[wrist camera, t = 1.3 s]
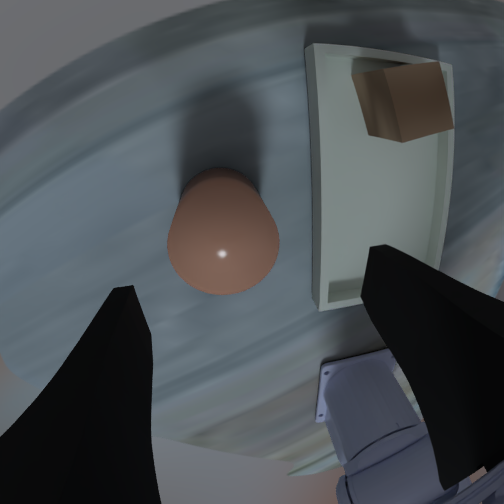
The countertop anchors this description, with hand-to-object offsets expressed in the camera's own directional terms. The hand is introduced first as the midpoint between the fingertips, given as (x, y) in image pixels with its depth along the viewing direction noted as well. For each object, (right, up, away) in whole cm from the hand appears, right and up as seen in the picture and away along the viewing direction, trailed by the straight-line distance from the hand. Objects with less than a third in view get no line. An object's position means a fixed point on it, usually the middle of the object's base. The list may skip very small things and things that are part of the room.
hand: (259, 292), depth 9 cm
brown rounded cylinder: (-2, +4, +10) cm, 11 cm away
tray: (+9, +6, +10) cm, 15 cm away
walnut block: (+8, +11, +8) cm, 16 cm away
